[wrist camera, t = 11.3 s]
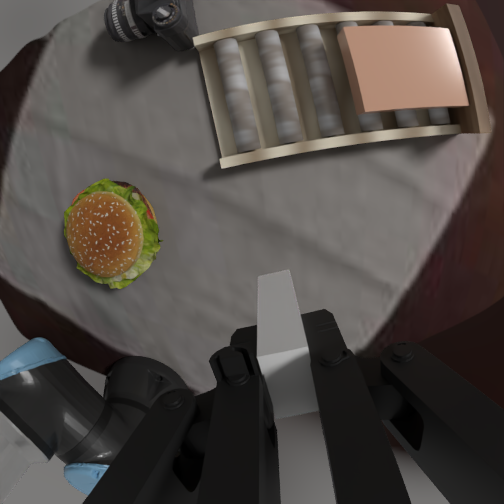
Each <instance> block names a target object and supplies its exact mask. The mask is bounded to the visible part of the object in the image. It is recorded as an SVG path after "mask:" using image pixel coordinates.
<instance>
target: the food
mask: <svg viewBox="0 0 504 504" xmlns="http://www.w3.org/2000/svg"><path fill="white" fill-rule="evenodd" d="M64 219H65V228H64V236H65V238H66V239H67V242H68V245H69V248H70V253H71V254H72V255H73V256H74V258H75V259H76V261H77V266H78V267H76V268H77V269H79V270H80V271H82V272H83V273H84V274H86V275H87V276H89V277H90V278H91V279H93V280H94V281H95V282H98V283H101V284H108V285H109V286H110V289H113V288H118V289H122V288H124V287H126V286H127V285H129V284H130V283H131V282H133V281H135V280H136V279H137V278H138V277H139V276H140V275H141V274H142V273H143V272H144V271H146V270H147V269H148V268H149V267H150V265H151V263H152V261H153V260H155V259H156V253H157V252H158V251H159V249H160V245H159V241H160V242H162V241H163V240H159V239H158V232H159V229H158V225H157V220H156V217H155V213H154V210H153V207H152V206H151V204H150V203H149V202H148V200H147V199H146V198H145V197H144V195H142V194H141V192H140V191H139V189H138V188H136V187H135V186H132V185H130V184H128V183H126V182H119V181H110V180H109V179H102V180H100V181H98V182H96V183H94V184H92V185H91V186H89V187H87V188H86V189H85V190H83V191H82V192H80V193H79V194H78V195H77V196H76V197H75V198H74V199H73V202H72V205H71V206H70V207H69V208H68V209H67V210H66V211H65V212H64Z"/></svg>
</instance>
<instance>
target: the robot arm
mask: <svg viewBox="0 0 504 504" xmlns="http://www.w3.org/2000/svg"><path fill="white" fill-rule="evenodd" d="M209 363H210V365H211V368H212V370H213V373H214V375H215V378H216V380H217V386H216V388H214V389H213V390H210V391H208V392H206V393H203V394H200V395H197V396H194V395H193V393H192V392H191V391H189V390H188V388H187V386H186V384H185V382H184V381H183V380H182V378H181V377H180V376H179V375H178V374H177V373H176V372H175V371H173V370H172V369H171V368H169V367H168V366H166V365H164V364H163V363H161V362H158V361H156V360H153V359H150V358H146V357H141V356H130V357H125V358H122V359H120V360H118V361H117V362H116V363H115V364H114V365H113V366H112V368H111V369H110V371H109V372H108V374H107V377H106V380H105V389H104V395H103V397H102V396H101V395H100V394H99V393H98V392H97V391H96V390H95V389H94V388H93V387H92V386H91V385H90V384H89V383H88V382H87V381H86V380H85V379H84V378H83V377H82V376H81V375H80V374H79V373H78V372H77V371H76V370H75V368H74V367H73V366H72V365H71V364H70V363H69V362H68V361H67V358H66V357H65V356H63V355H62V354H61V353H60V352H59V351H58V350H57V349H56V348H55V347H54V346H53V345H52V344H51V343H50V342H49V341H48V340H47V339H45V338H41V337H38V338H34V339H32V340H30V341H28V342H27V343H25V344H24V345H22V346H21V347H19V348H18V349H16V350H15V351H14V352H12V353H11V354H9V355H8V356H7V357H5V358H4V359H3V360H1V361H0V504H3V502H4V501H5V500H6V498H7V496H8V495H9V494H10V492H11V491H12V490H13V488H14V487H15V486H16V484H17V483H18V481H19V480H20V479H21V477H22V476H23V475H24V473H25V472H26V471H27V469H28V468H29V466H30V465H31V464H33V463H48V462H49V460H50V459H51V458H52V456H53V455H54V454H55V455H56V456H57V457H58V458H59V459H60V460H62V461H63V462H64V463H65V464H66V466H65V467H64V477H65V478H66V480H68V482H69V483H70V484H71V485H72V486H73V487H75V488H76V489H78V490H79V491H81V492H82V493H84V494H86V495H88V497H87V498H86V499H85V501H84V502H83V504H281V500H280V479H279V459H278V441H277V440H278V439H277V429H276V426H275V422H274V414H275V418H276V419H279V418H284V417H290V416H295V415H300V414H305V413H310V412H314V411H319V413H320V418H321V423H322V429H323V435H324V438H325V444H326V449H327V455H328V460H329V465H330V471H331V476H332V482H333V488H334V493H335V499H336V504H411V501H410V498H409V496H408V492H407V490H406V487H405V484H404V481H403V478H402V476H401V473H400V470H399V467H398V464H397V462H396V459H395V456H394V454H393V451H392V448H391V446H390V443H389V441H388V438H387V435H386V432H385V430H384V427H383V425H382V422H381V420H382V421H383V423H384V425H385V426H386V427H387V428H388V429H389V431H390V432H391V433H392V434H393V436H394V437H395V438H396V439H397V440H398V441H399V443H400V444H401V445H402V446H403V448H404V449H405V450H406V451H407V452H408V454H409V455H410V456H411V457H412V458H413V460H414V461H415V462H416V463H417V464H418V466H419V467H420V468H421V469H422V470H423V472H424V473H425V474H426V475H427V476H428V477H429V479H430V480H431V481H432V482H433V484H434V485H435V486H436V487H437V488H438V490H439V491H440V492H441V493H442V494H443V496H444V497H445V498H446V499H447V500H448V502H449V503H450V504H504V409H502V408H501V407H500V406H498V405H497V404H496V403H495V402H493V401H492V400H491V399H490V398H488V397H487V396H486V395H484V394H483V393H482V392H481V391H479V390H478V389H477V388H475V387H474V386H473V385H471V384H470V383H469V382H468V381H466V380H465V379H464V378H462V377H461V376H460V375H458V374H457V373H456V372H455V371H453V370H452V369H451V368H449V367H448V366H447V365H445V364H444V363H443V362H441V361H440V360H439V359H437V358H436V357H435V356H433V355H432V354H430V353H429V352H428V351H427V350H425V349H424V348H423V347H422V346H420V345H418V344H416V343H414V342H408V341H403V342H396V343H393V344H390V345H389V346H387V347H386V348H384V350H383V351H382V353H381V357H376V358H363V357H358V356H355V355H354V354H353V353H352V351H351V350H350V349H347V347H346V344H345V342H344V340H343V337H342V335H341V333H340V330H339V328H338V326H337V323H336V321H335V318H334V316H333V314H332V313H330V312H329V311H327V310H326V309H323V310H318V311H314V312H310V313H306V314H301V315H300V311H299V307H298V303H297V298H296V294H295V290H294V286H293V282H292V278H291V274H290V270H289V269H288V270H284V271H279V272H275V273H271V274H266V275H262V276H258V316H257V325H255V326H250V327H245V328H240V329H237V330H236V331H235V333H234V334H233V335H232V336H231V342H230V346H228V347H224V348H222V349H220V350H218V351H217V352H216V353H214V354H213V355H212V356H211V358H210V360H209Z"/></svg>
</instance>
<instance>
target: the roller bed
mask: <svg viewBox="0 0 504 504" xmlns="http://www.w3.org/2000/svg"><path fill="white" fill-rule="evenodd" d="M350 26H422V27H436V28H448V29H449V30H450V33H451V36H452V39H453V43H454V46H455V49H456V53H457V56H458V60H459V63H460V67H461V71H462V75H463V79H464V83H465V88H466V92H467V97H468V102H469V106H464V107H457V108H437V109H419V110H404V111H392V112H381V113H371V114H362V115H357V114H356V110H355V105H354V101H353V96H352V92H351V88H350V84H349V80H348V76H347V72H346V68H345V64H344V60H343V57H342V53H341V49H340V46H339V42H338V39H337V36H338V34H339V33H340V31H341V29H342V28H343V27H350ZM193 42H194V46H195V47H196V49H197V50H198V51H199V55H200V59H201V64H202V68H203V73H204V77H205V82H206V87H207V91H208V96H209V100H210V105H211V109H212V114H213V118H214V123H215V127H216V132H217V136H218V141H219V145H220V150H221V154H222V158H221V159H219V160H220V164H221V169H223V168H228V167H232V166H237V165H241V164H246V163H251V162H256V161H261V160H266V159H271V158H276V157H281V156H287V155H292V154H298V153H303V152H309V151H315V150H321V149H327V148H334V147H340V146H347V145H354V144H361V143H369V142H377V141H385V140H393V139H402V138H412V137H422V136H434V135H446V134H461V133H492V132H491V125H490V119H489V113H488V108H487V102H486V97H485V92H484V88H483V83H482V79H481V75H480V71H479V67H478V63H477V60H476V56H475V52H474V49H473V46H472V42H471V39H470V36H469V33H468V30H467V27H466V24H465V21H464V18H463V16H462V13H461V10H460V8H459V5H452V4H445V5H444V6H442V7H441V8H440V9H438V10H437V11H435V12H434V13H433V14H422V13H406V12H344V13H328V14H316V15H306V16H297V17H289V18H282V19H275V20H269V21H263V22H257V23H252V24H247V25H242V26H237V27H232V28H228V29H224V30H219V31H215V32H211V33H207V34H203V35H200V36H196V37H193Z"/></svg>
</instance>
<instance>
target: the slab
mask: <svg viewBox="0 0 504 504" xmlns="http://www.w3.org/2000/svg"><path fill="white" fill-rule="evenodd" d="M337 39H338V42H339V46H340V49H341V53H342V57H343V60H344V64H345V68H346V72H347V76H348V80H349V84H350V88H351V92H352V96H353V101H354V105H355V110H356V114H357V115H362V114H371V113H381V112H392V111H404V110H419V109H437V108H457V107H464V106H469V102H468V97H467V92H466V88H465V83H464V79H463V75H462V71H461V67H460V63H459V60H458V56H457V53H456V49H455V46H454V43H453V39H452V36H451V33H450V30H449V29H448V28H436V27H422V26H350V27H343V28H342V29H341V31H340V33H339V34H338V36H337Z"/></svg>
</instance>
